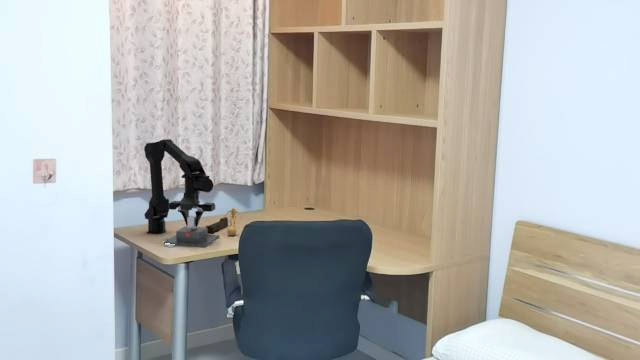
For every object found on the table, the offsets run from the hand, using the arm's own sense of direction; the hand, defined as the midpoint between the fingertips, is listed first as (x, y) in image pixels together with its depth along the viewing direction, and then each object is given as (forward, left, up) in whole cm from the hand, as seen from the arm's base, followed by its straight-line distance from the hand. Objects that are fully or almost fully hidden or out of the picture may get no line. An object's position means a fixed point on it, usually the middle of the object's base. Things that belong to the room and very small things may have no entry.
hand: (192, 226), depth 297 cm
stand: (0, 0, -6) cm, 6 cm away
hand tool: (+3, +24, -7) cm, 25 cm away
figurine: (+13, +15, -6) cm, 21 cm away
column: (0, 0, -5) cm, 5 cm away
